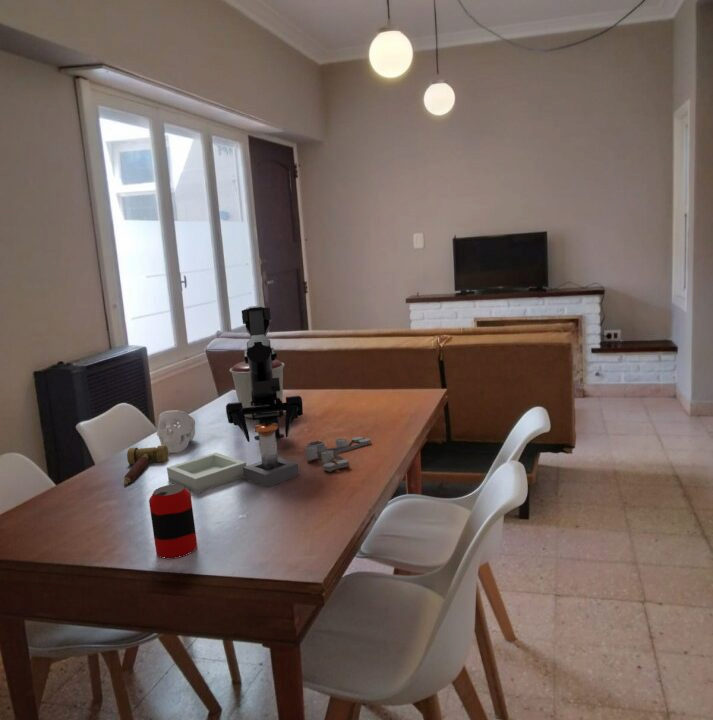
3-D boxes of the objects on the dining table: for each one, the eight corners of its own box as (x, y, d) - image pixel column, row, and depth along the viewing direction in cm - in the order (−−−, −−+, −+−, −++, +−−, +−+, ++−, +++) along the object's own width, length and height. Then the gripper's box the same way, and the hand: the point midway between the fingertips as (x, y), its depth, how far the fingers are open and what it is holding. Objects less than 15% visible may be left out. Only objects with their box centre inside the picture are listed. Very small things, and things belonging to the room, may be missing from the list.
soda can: (148, 557, 127) (139, 496, 125) (172, 539, 134) (164, 481, 132) (182, 561, 124) (173, 498, 122) (205, 543, 131) (197, 483, 129)
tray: (168, 481, 169) (166, 467, 168) (217, 465, 178) (216, 452, 177) (197, 493, 158) (195, 479, 158) (247, 475, 168) (245, 462, 167)
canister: (242, 425, 216) (235, 360, 212) (229, 414, 233) (222, 353, 229) (296, 415, 223) (290, 352, 219) (280, 405, 239) (274, 346, 236)
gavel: (143, 473, 167) (103, 476, 167) (146, 490, 168) (106, 493, 168) (167, 442, 187) (131, 445, 187) (169, 458, 188) (133, 461, 188)
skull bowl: (149, 452, 189) (150, 410, 194) (164, 464, 202) (166, 425, 207) (186, 449, 189) (187, 407, 194) (199, 461, 202) (200, 422, 207)
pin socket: (244, 479, 166) (243, 467, 165) (276, 468, 172) (274, 456, 171) (267, 487, 159) (265, 475, 158) (299, 475, 165) (297, 463, 164)
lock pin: (255, 478, 165) (249, 426, 163) (274, 471, 169) (268, 421, 167) (269, 483, 161) (263, 430, 159) (287, 476, 165) (282, 424, 163)
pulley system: (287, 476, 168) (344, 474, 164) (284, 457, 168) (342, 455, 163) (324, 446, 194) (374, 443, 189) (322, 429, 193) (372, 427, 189)
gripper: (222, 371, 166) (224, 426, 157) (298, 363, 169) (305, 417, 160) (227, 396, 175) (230, 449, 166) (299, 388, 178) (306, 440, 169)
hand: (267, 438), depth 165 cm, fingers open, 9 cm apart
